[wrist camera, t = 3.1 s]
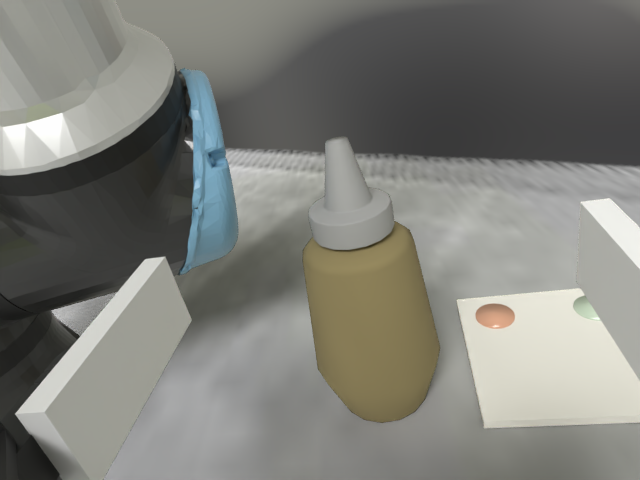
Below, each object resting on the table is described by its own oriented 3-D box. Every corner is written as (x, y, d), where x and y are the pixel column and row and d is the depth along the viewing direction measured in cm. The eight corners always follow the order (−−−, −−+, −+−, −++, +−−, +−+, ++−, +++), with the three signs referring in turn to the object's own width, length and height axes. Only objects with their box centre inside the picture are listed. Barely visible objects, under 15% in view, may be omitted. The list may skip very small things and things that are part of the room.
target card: (484, 428, 28) (483, 419, 28) (457, 305, 39) (456, 298, 38) (710, 419, 26) (712, 410, 26) (617, 291, 36) (618, 283, 36)
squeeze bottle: (415, 336, 37) (383, 106, 28) (467, 415, 29) (445, 139, 21) (316, 368, 36) (252, 141, 27) (344, 457, 29) (270, 188, 20)
